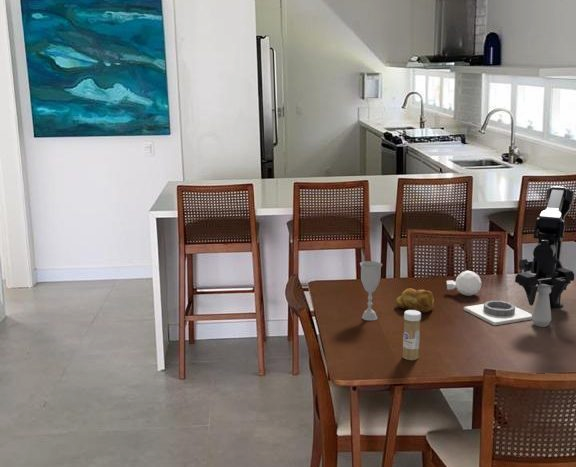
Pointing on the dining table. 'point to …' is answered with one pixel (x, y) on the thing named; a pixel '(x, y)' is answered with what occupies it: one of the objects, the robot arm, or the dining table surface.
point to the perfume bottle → (466, 283)
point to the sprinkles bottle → (411, 334)
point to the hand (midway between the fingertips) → (542, 303)
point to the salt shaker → (542, 307)
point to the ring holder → (498, 312)
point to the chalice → (370, 284)
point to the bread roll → (416, 300)
